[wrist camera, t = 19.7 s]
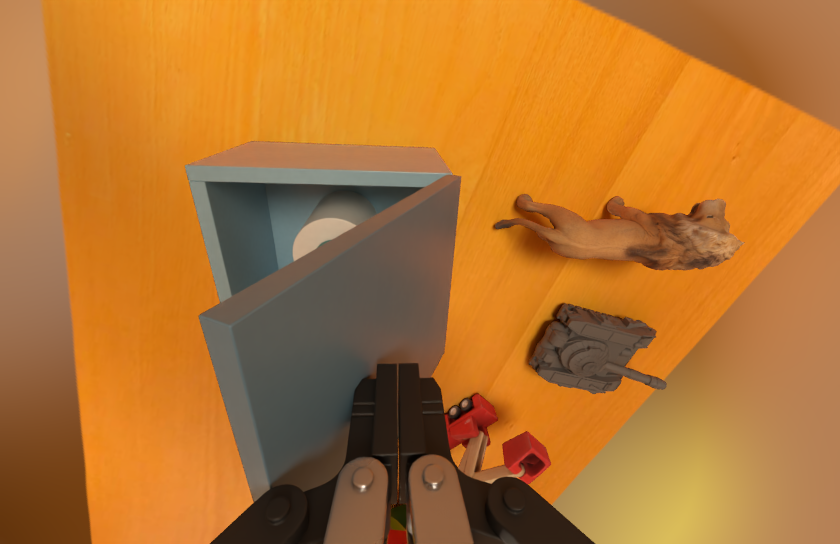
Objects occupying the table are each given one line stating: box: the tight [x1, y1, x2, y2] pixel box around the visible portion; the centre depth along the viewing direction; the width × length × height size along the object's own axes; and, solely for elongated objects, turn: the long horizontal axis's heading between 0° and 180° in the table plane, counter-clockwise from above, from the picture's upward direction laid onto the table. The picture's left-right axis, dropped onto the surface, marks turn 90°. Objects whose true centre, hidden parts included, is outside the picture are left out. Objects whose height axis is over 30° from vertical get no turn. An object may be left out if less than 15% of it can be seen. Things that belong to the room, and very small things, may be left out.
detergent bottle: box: [293, 191, 377, 261], centre depth 25 cm, size 5×5×8 cm
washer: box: [185, 141, 453, 303], centre depth 25 cm, size 14×12×9 cm
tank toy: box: [529, 303, 666, 394], centre depth 34 cm, size 12×10×5 cm
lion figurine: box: [495, 194, 744, 270], centre depth 26 cm, size 15×5×9 cm, turn 95°
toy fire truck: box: [445, 394, 551, 484], centre depth 36 cm, size 3×14×10 cm, turn 131°
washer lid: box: [199, 175, 461, 502], centre depth 15 cm, size 14×12×1 cm
